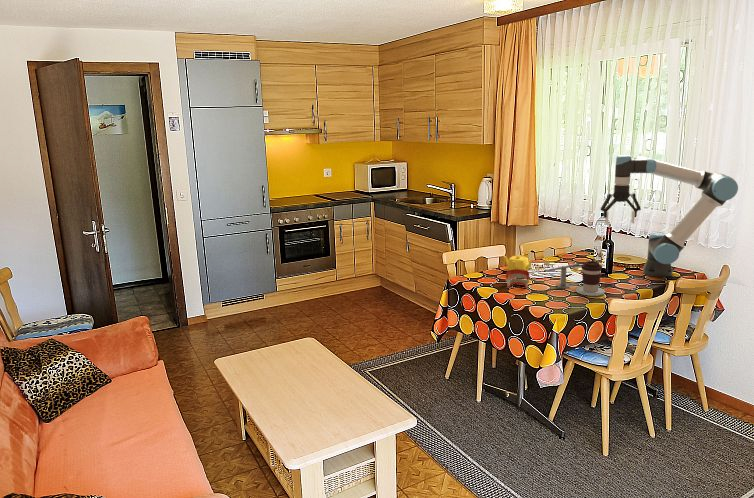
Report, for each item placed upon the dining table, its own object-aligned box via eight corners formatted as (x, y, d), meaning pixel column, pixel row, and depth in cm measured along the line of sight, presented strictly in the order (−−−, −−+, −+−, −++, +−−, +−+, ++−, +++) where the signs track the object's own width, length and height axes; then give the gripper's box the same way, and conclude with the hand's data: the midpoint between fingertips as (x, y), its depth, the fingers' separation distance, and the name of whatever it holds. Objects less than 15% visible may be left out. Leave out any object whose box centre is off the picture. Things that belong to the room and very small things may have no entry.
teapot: (535, 273, 328) (535, 257, 326) (513, 275, 325) (513, 259, 323) (523, 266, 342) (523, 251, 340) (501, 269, 339) (502, 254, 337)
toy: (530, 283, 311) (530, 269, 309) (529, 289, 301) (529, 275, 299) (507, 282, 315) (507, 268, 313) (505, 287, 305) (505, 274, 303)
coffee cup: (602, 293, 285) (604, 265, 282) (582, 293, 287) (583, 265, 284) (598, 287, 295) (600, 260, 291) (579, 287, 297) (580, 260, 293)
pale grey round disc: (600, 288, 297) (601, 286, 297) (607, 297, 284) (607, 294, 283) (573, 288, 299) (573, 286, 299) (578, 296, 286) (579, 294, 285)
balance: (581, 284, 304) (582, 261, 301) (583, 288, 298) (585, 264, 295) (542, 284, 307) (543, 261, 304) (544, 288, 301) (544, 264, 298)
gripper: (644, 182, 300) (641, 221, 305) (596, 184, 304) (594, 222, 309) (649, 184, 293) (646, 224, 298) (599, 186, 297) (597, 224, 302)
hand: (619, 223), depth 304 cm, fingers open, 13 cm apart
